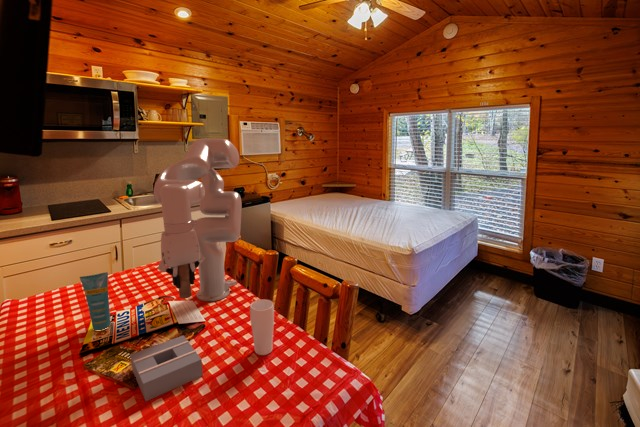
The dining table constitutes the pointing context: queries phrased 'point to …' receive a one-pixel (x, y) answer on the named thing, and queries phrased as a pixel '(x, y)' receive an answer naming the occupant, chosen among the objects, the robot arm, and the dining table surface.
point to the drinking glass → (262, 325)
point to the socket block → (165, 367)
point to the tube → (97, 299)
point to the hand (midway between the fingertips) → (184, 284)
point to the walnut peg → (184, 281)
